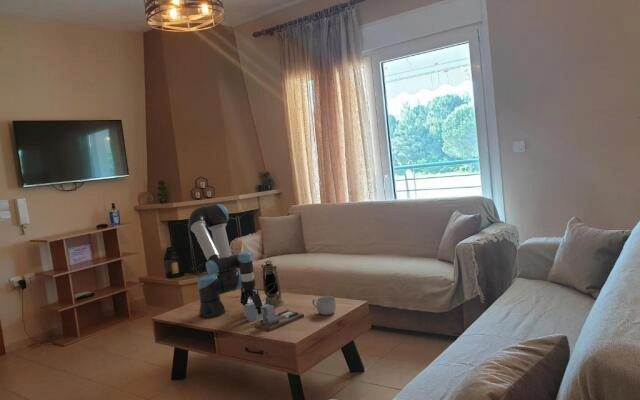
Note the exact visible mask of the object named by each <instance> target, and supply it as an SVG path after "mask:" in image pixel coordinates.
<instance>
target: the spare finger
mask: <svg viewBox="0 0 640 400" xmlns="http://www.w3.org/2000/svg"><path fill="white" fill-rule="evenodd" d="M245 309H246V316H247V317H246V320H247V321H248V322H254V321H257V316H256V306H255V304H254V302H253V301H250V302H248V304H246V305H245Z"/></svg>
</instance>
